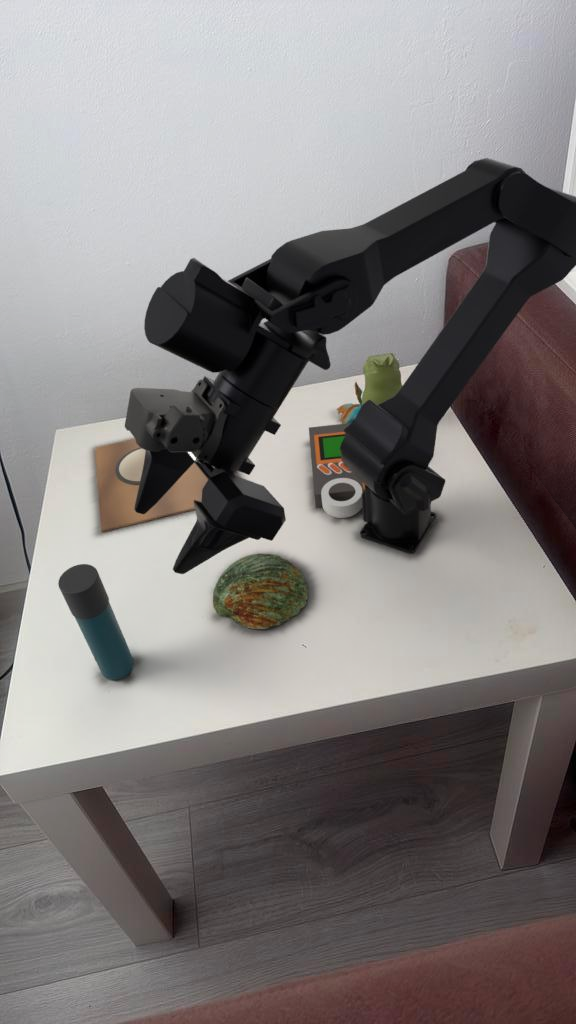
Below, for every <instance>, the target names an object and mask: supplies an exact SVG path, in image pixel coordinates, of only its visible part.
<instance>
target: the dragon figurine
mask: <svg viewBox="0 0 576 1024" xmlns="http://www.w3.org/2000/svg"><path fill="white" fill-rule="evenodd" d="M354 392H355V396H356V399H357V401H358V403H350V402H349V403H344V404H342V405H340V406H339V407H337V408H336V411H337V415H340V414H341V424H346V423H352V422H353V420H354V419H355V418H356V416H357V414H358V412H359V411H360V409H361V407H362V395H363V390H362V388H360V387H359V385H358V383H357V381H355V382H354Z"/></svg>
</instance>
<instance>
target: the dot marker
mask: <svg viewBox="0 0 576 1024" xmlns="http://www.w3.org/2000/svg"><path fill="white" fill-rule="evenodd" d="M57 585H58V588H59V591H60V593H61V594H62V597H63V599H64V601H65V603H66V604H67V607H68V609H69V611H70V613H71V615H72V616H73V617H74V619H75V622H77V623H76V624H77V625H78V627H79V629H80V631H81V634H82V635H83V638H84V640H85V641H86V643H87V646H88V648H89V650H90V652H91V654H92V656H93V658H94V660H95V662H96V665H97V667H98V669H99V671H100V673H101V675H102V676H103V677H104V678H106V679H107V680H109V681H112V682H118V681H123V680H124V679H126V678H127V677H129V676H130V674H131V673H132V671H133V668H134V664H135V662H134V661H135V660H134V657H133V655H132V653H131V650H130V647H129V645H128V643H127V641H126V638H125V636H124V634H123V631H122V629H121V626H120V624H119V622H118V619H117V617H116V614H115V612H114V610H113V608H112V605H111V603H110V598H109V595H108V593H107V591H106V588H105V586H104V584H103V581H102V578H101V576H100V574H99V571H98V569H97V568H96V567H95V566H94V565H92V564H88V563H81V564H76V565H73V566H71V567H69V568H67V569H66V570H65V571H64V572H63V573H62V574H61V575H60V577H59V579H58V583H57Z"/></svg>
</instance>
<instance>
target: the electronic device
mask: <svg viewBox="0 0 576 1024" xmlns="http://www.w3.org/2000/svg"><path fill="white" fill-rule="evenodd" d="M350 424H351V423H346V424H342V423H337V424H328V425H319V426H309V427H308V436H309V437H308V438H309V446H310V447H309V449H310V459H311V472H312V483H313V497H314V502H315V504H314V505H315V509H321V508H322V509H323V511H324V512H325V513H326V514H327V515H329V516H331V517H334V518H337V519H339V518H340V519H343V518H345V519H346V518H350V517H353V516H354V515H356V514H357V513H358V514H359V512H360V511H361V509H362V493H363V491H364V490H365V484H364V483H363V482H362V481H361V480H360V479H359V478H358V477H357V476H356V475H354V474H353V473H352V472H351V471H350V470H349V469H348V468H347V467H346V466H345V465H344V464H343V462H342V460H341V451H340V446H341V443H342V441H343V439H344V437H345V435H346V433H345V432H344V429H345V428H346V427H348V426H349V425H350Z"/></svg>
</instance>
